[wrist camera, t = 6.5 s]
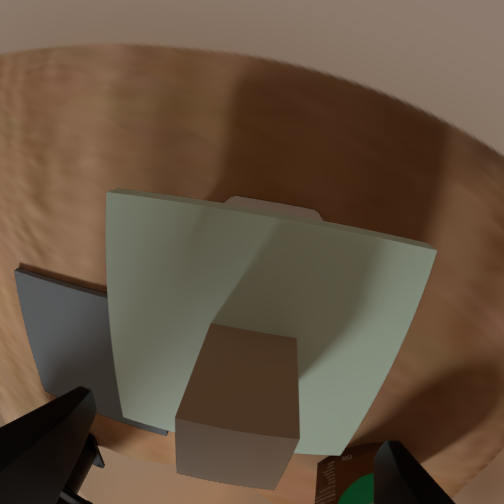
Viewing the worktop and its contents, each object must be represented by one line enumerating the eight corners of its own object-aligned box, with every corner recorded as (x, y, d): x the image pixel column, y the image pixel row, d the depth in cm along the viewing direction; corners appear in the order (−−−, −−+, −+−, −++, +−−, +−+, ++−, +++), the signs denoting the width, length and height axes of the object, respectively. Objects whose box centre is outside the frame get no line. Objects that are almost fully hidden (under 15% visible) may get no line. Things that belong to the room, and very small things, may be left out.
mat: (168, 431, 22) (166, 436, 21) (47, 387, 22) (44, 390, 21) (166, 308, 17) (163, 312, 17) (18, 267, 18) (14, 270, 17)
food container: (446, 444, 20) (475, 528, 11) (402, 478, 23) (418, 557, 13) (350, 420, 19) (367, 541, 10) (303, 459, 22) (302, 564, 12)
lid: (338, 443, 14) (347, 528, 9) (128, 406, 14) (89, 482, 9) (427, 243, 10) (512, 317, 5) (118, 188, 10) (12, 228, 5)
